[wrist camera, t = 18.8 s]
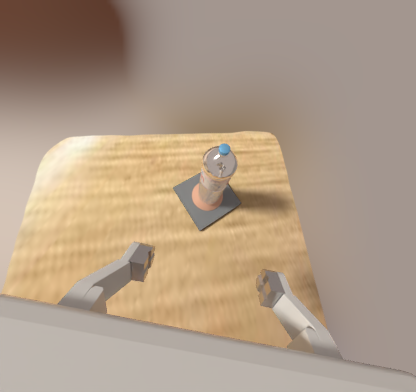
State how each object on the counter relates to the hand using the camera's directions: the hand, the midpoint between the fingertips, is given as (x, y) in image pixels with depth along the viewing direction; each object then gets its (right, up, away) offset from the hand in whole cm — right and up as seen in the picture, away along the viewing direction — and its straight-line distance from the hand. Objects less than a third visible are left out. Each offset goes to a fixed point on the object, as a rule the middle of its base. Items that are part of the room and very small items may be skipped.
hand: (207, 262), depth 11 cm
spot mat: (0, +5, +38) cm, 38 cm away
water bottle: (0, +5, +37) cm, 37 cm away
